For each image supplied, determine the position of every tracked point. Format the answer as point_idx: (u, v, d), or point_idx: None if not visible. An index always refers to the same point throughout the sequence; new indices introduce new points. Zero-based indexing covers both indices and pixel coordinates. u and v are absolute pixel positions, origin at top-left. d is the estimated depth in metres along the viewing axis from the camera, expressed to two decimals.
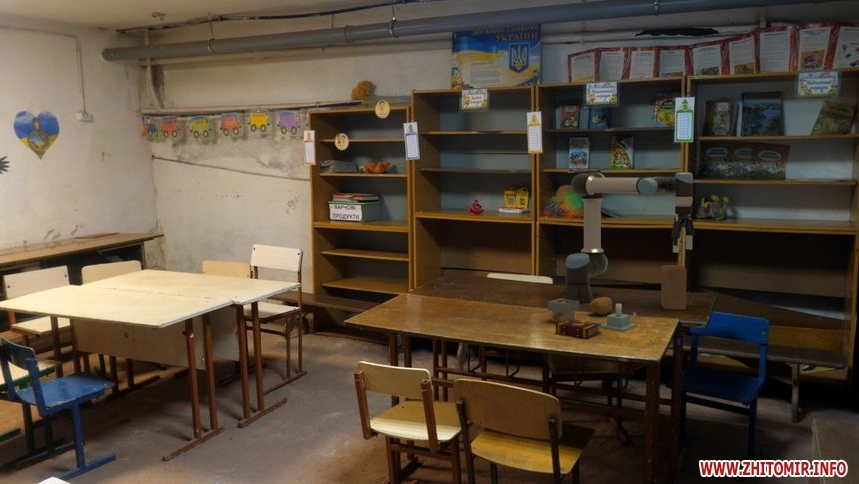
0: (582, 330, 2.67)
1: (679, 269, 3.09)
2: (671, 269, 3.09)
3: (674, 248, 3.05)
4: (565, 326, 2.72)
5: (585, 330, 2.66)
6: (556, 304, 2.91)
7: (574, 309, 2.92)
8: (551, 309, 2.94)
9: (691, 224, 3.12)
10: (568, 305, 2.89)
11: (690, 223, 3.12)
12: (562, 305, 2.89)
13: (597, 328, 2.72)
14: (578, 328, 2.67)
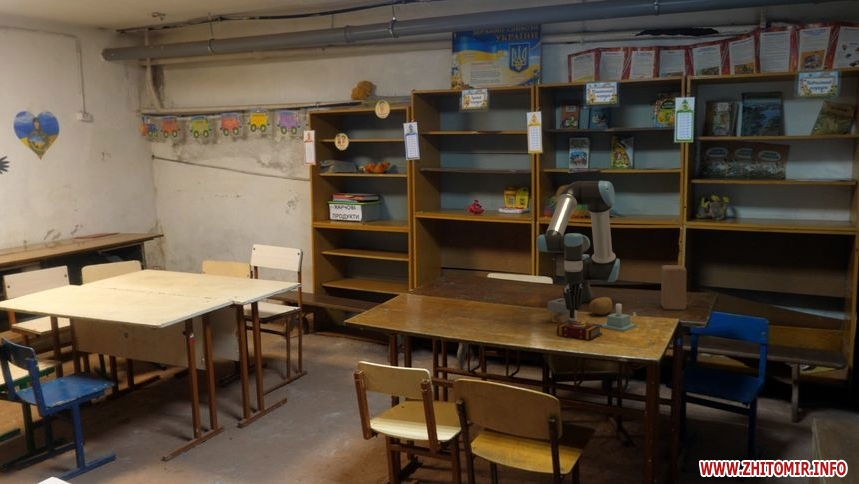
0: (585, 332, 2.64)
1: (679, 269, 3.09)
2: (671, 269, 3.09)
3: None
4: (567, 328, 2.68)
5: (588, 331, 2.63)
6: (556, 304, 2.91)
7: None
8: (551, 309, 2.94)
9: (580, 294, 2.80)
10: None
11: (579, 293, 2.81)
12: (562, 305, 2.89)
13: (598, 329, 2.70)
14: (581, 330, 2.65)
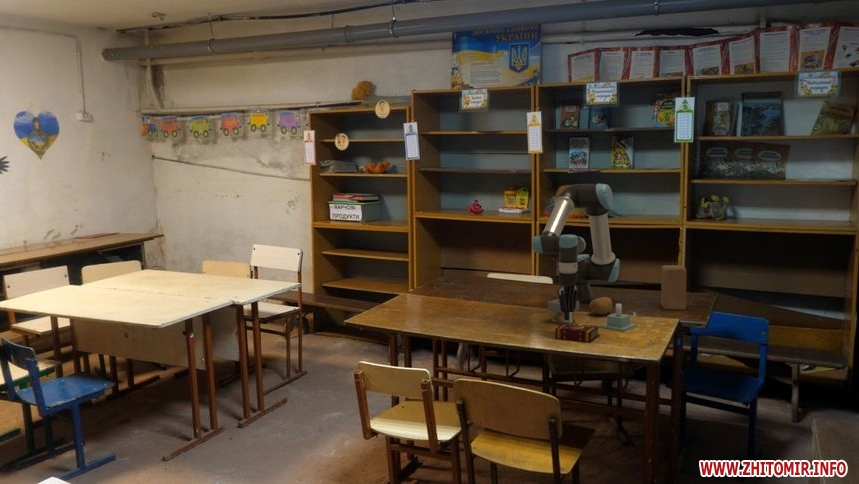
0: (585, 334, 2.61)
1: (679, 269, 3.09)
2: (671, 269, 3.09)
3: None
4: (566, 330, 2.65)
5: (588, 333, 2.60)
6: (556, 304, 2.91)
7: None
8: (551, 309, 2.94)
9: (575, 296, 2.78)
10: None
11: (574, 295, 2.78)
12: None
13: (596, 331, 2.68)
14: (580, 332, 2.62)
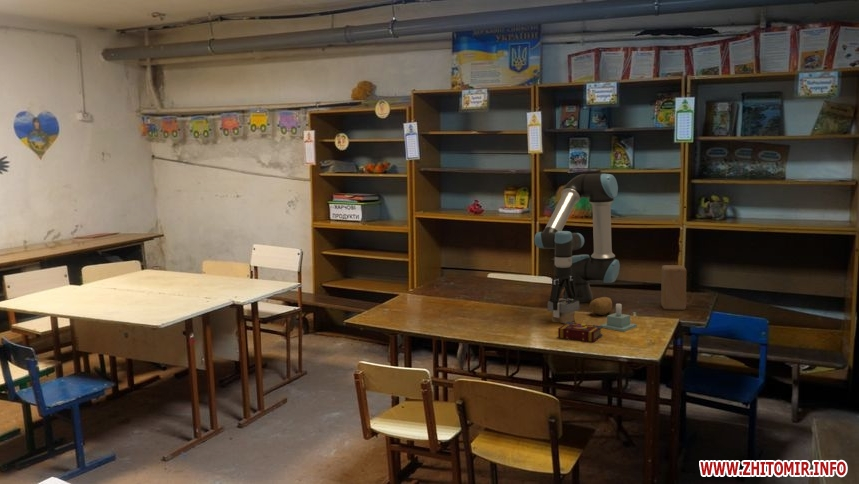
0: (587, 333, 2.61)
1: (679, 269, 3.09)
2: (671, 269, 3.09)
3: (554, 313, 2.92)
4: (569, 330, 2.65)
5: (591, 333, 2.60)
6: None
7: (574, 309, 2.92)
8: (551, 309, 2.94)
9: (572, 286, 2.98)
10: (568, 305, 2.89)
11: (571, 285, 2.98)
12: (562, 305, 2.89)
13: (599, 331, 2.68)
14: (583, 332, 2.62)
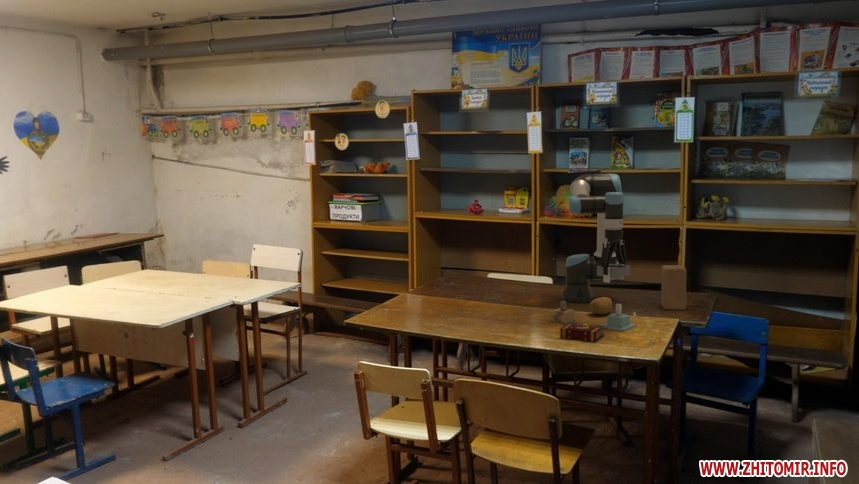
0: (590, 333, 2.61)
1: (679, 269, 3.09)
2: (671, 269, 3.09)
3: (604, 278, 2.78)
4: (571, 330, 2.65)
5: (593, 333, 2.61)
6: None
7: (625, 274, 2.78)
8: (601, 274, 2.80)
9: (623, 250, 2.83)
10: (619, 269, 2.75)
11: (622, 249, 2.84)
12: (613, 269, 2.75)
13: (601, 331, 2.68)
14: (585, 331, 2.62)
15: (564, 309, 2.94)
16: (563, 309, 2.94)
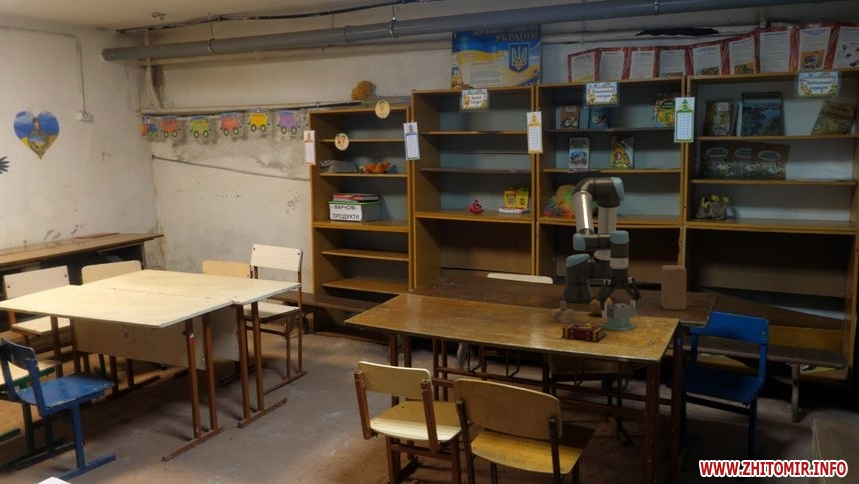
0: (592, 333, 2.61)
1: (679, 269, 3.09)
2: (671, 269, 3.09)
3: (602, 313, 2.81)
4: (573, 330, 2.65)
5: (595, 333, 2.61)
6: (607, 308, 2.81)
7: (627, 316, 2.78)
8: None
9: (634, 288, 2.82)
10: (617, 310, 2.76)
11: (633, 286, 2.82)
12: (611, 310, 2.78)
13: (604, 330, 2.68)
14: (588, 331, 2.62)
15: (564, 309, 2.94)
16: (563, 309, 2.94)
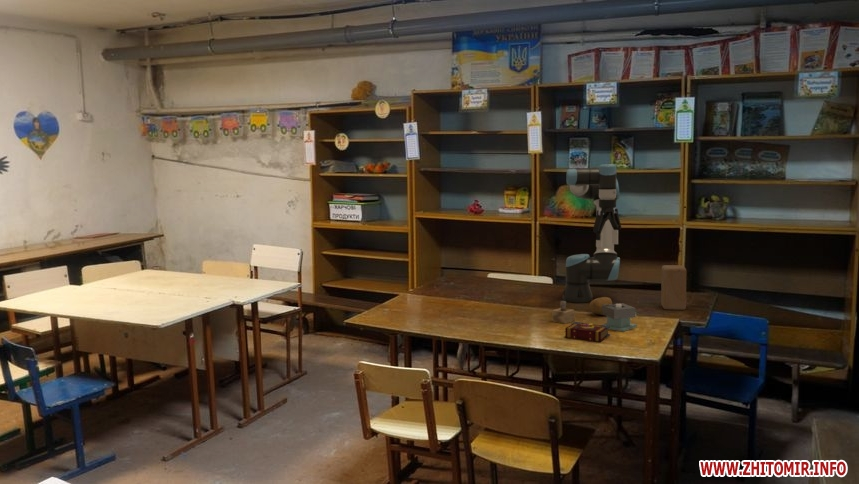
0: (595, 333, 2.61)
1: (679, 269, 3.09)
2: (671, 269, 3.09)
3: (597, 243, 2.94)
4: (576, 330, 2.65)
5: (598, 333, 2.61)
6: (607, 308, 2.81)
7: (627, 316, 2.78)
8: (604, 313, 2.84)
9: (617, 218, 3.01)
10: (617, 310, 2.76)
11: (616, 217, 3.01)
12: (611, 310, 2.78)
13: (607, 330, 2.68)
14: (590, 331, 2.62)
15: (564, 309, 2.94)
16: (563, 309, 2.94)
